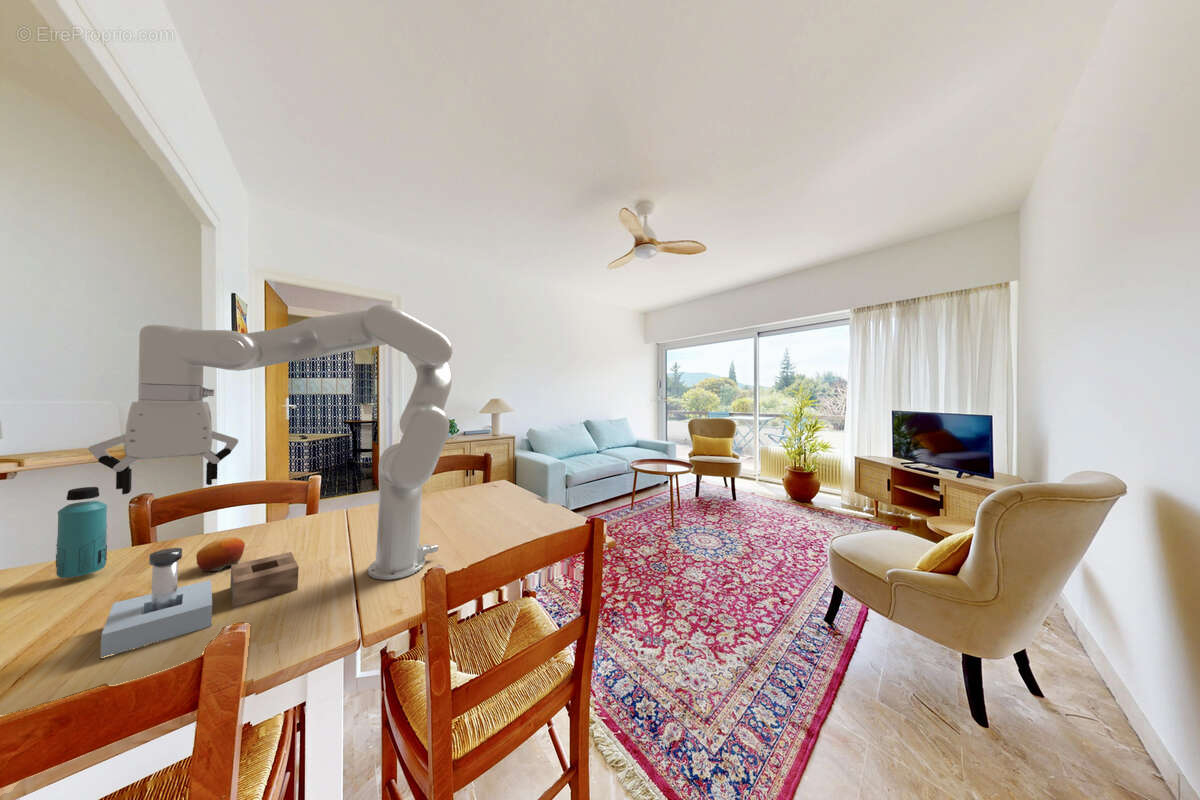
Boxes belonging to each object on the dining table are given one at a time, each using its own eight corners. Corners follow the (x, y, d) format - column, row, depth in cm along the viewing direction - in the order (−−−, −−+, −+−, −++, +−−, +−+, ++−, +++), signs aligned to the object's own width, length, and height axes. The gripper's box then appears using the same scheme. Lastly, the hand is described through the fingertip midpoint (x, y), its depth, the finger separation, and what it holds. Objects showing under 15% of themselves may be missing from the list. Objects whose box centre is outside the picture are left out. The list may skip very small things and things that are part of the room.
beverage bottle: (103, 578, 79) (106, 488, 79) (49, 589, 74) (52, 493, 74) (109, 567, 84) (112, 482, 83) (58, 577, 79) (62, 487, 79)
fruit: (219, 572, 82) (206, 540, 82) (196, 585, 83) (184, 553, 84) (259, 557, 89) (247, 527, 90) (237, 569, 91) (226, 540, 92)
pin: (179, 616, 68) (182, 546, 68) (178, 625, 66) (181, 552, 66) (147, 624, 65) (150, 551, 65) (145, 634, 63) (148, 558, 63)
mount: (290, 572, 86) (291, 551, 86) (297, 589, 79) (298, 566, 79) (230, 587, 78) (231, 565, 78) (232, 607, 71) (234, 582, 71)
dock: (210, 598, 74) (211, 579, 74) (211, 626, 66) (212, 604, 66) (112, 624, 65) (113, 602, 65) (100, 659, 57) (101, 634, 57)
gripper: (238, 395, 74) (236, 477, 74) (94, 392, 61) (92, 491, 61) (240, 396, 69) (238, 484, 69) (84, 394, 56) (83, 502, 56)
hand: (170, 487), depth 65 cm, fingers open, 9 cm apart
